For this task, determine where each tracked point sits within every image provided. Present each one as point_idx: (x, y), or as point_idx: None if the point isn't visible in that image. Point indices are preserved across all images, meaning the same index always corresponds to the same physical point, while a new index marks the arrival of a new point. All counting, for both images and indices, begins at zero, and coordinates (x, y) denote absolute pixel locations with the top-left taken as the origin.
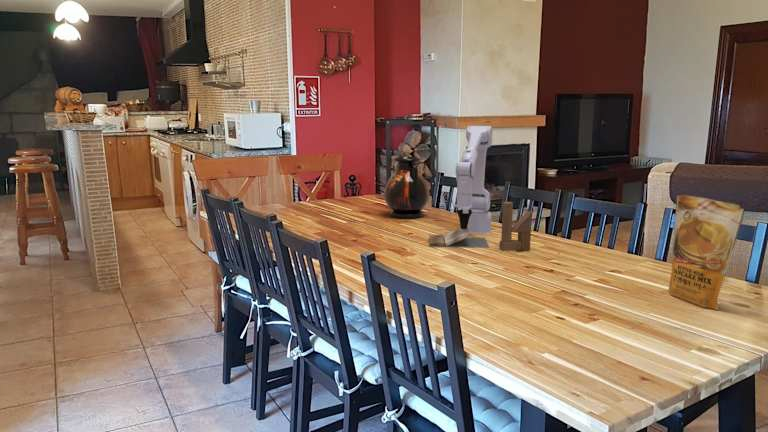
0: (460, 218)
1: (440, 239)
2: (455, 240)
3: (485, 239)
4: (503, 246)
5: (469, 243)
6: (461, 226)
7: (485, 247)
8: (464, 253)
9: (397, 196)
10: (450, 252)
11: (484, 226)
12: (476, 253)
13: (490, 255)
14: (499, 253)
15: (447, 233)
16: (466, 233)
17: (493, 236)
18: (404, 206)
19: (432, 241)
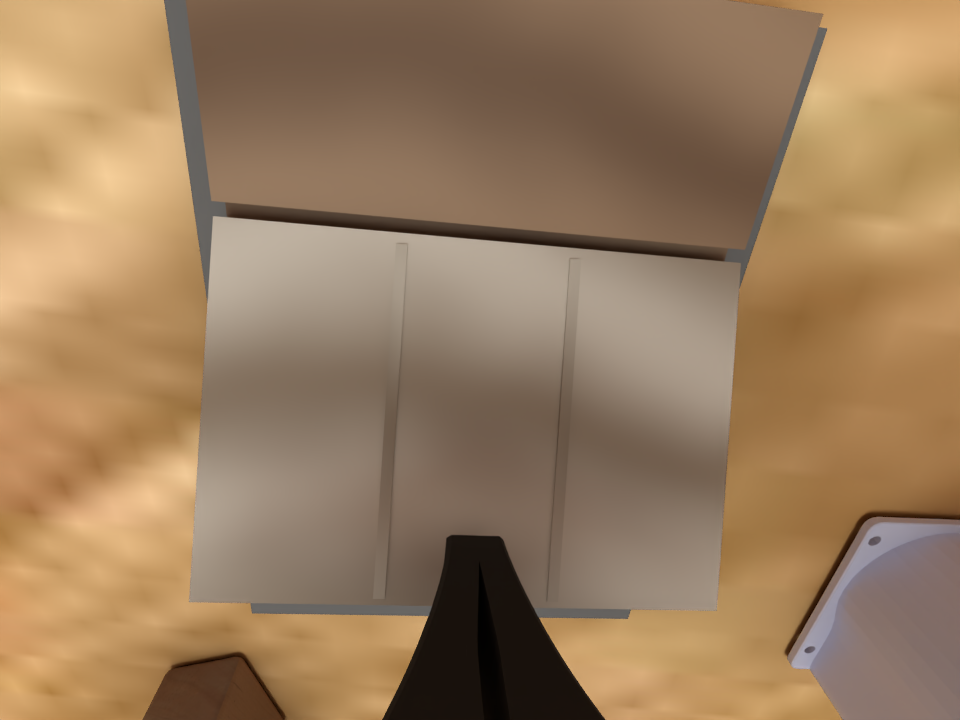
0: (389, 715)
1: (463, 174)
2: (212, 369)
3: (566, 617)
4: (144, 718)
5: None
6: (442, 570)
7: None
8: (20, 390)
9: None
10: (13, 242)
11: (870, 690)
12: (63, 494)
13: (25, 583)
14: (124, 642)
15: (730, 319)
16: (225, 559)
17: (712, 664)
18: None
19: (311, 2)
